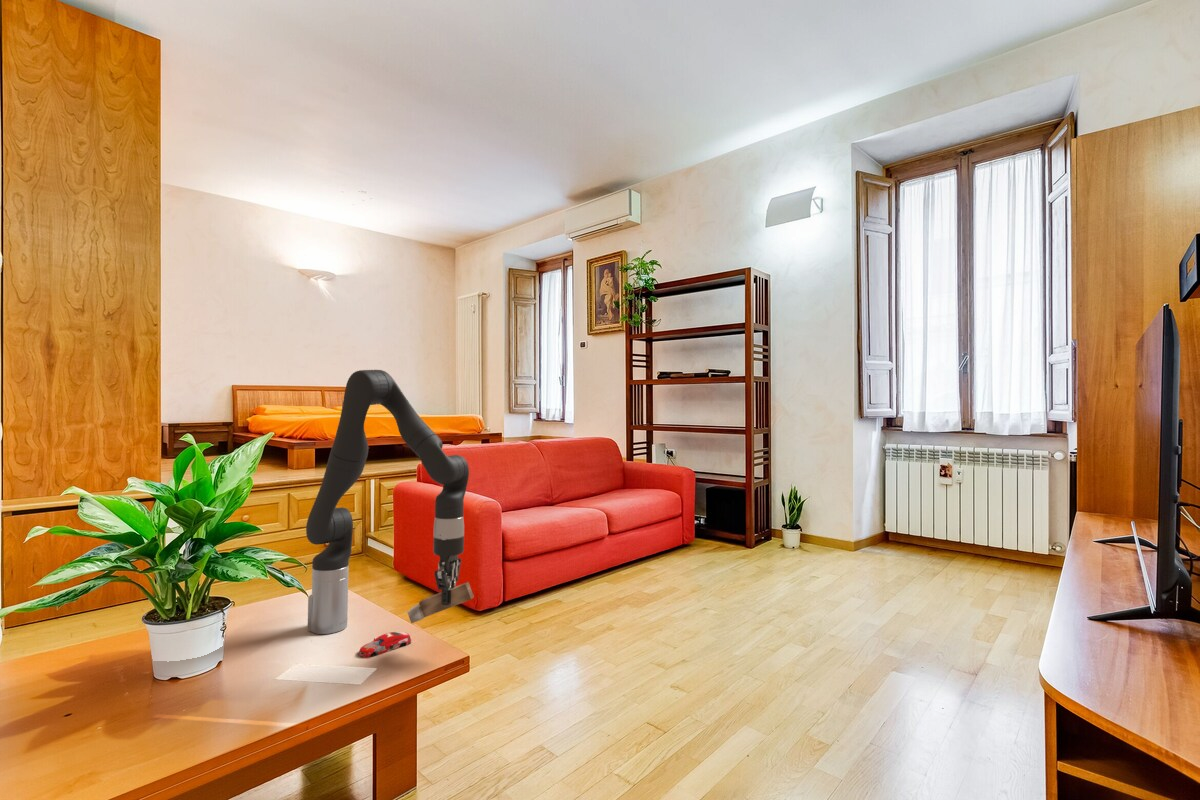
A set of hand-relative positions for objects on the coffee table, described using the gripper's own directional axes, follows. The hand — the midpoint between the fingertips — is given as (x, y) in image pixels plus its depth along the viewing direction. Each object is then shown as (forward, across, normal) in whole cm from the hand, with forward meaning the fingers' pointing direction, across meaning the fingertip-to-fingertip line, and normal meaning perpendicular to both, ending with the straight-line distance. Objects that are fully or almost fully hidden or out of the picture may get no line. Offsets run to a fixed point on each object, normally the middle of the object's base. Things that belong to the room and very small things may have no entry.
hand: (447, 602), depth 146 cm
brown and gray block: (+1, 0, 0) cm, 1 cm away
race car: (+13, 0, -16) cm, 21 cm away
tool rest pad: (+13, +15, -23) cm, 30 cm away
